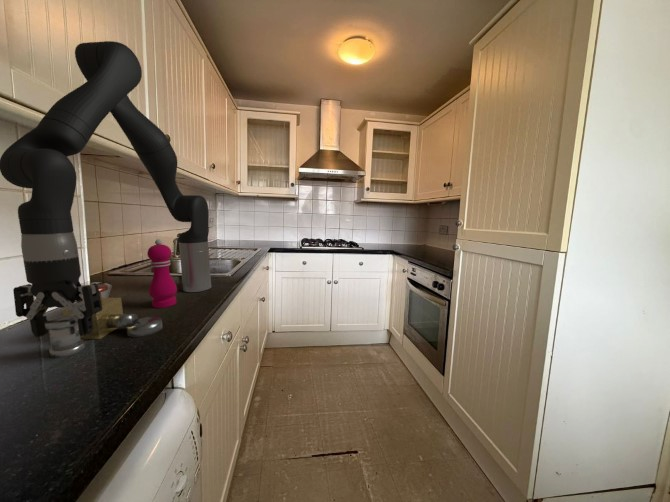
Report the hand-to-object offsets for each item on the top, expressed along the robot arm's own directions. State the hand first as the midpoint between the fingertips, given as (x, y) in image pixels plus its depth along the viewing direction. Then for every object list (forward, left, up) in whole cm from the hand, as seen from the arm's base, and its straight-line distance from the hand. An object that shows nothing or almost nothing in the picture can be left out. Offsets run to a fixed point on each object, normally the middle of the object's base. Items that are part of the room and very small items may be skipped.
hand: (63, 334), depth 56 cm
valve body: (-9, +5, -4) cm, 11 cm away
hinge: (-20, -10, -4) cm, 22 cm away
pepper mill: (-27, +5, -4) cm, 28 cm away
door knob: (0, 0, -4) cm, 4 cm away
